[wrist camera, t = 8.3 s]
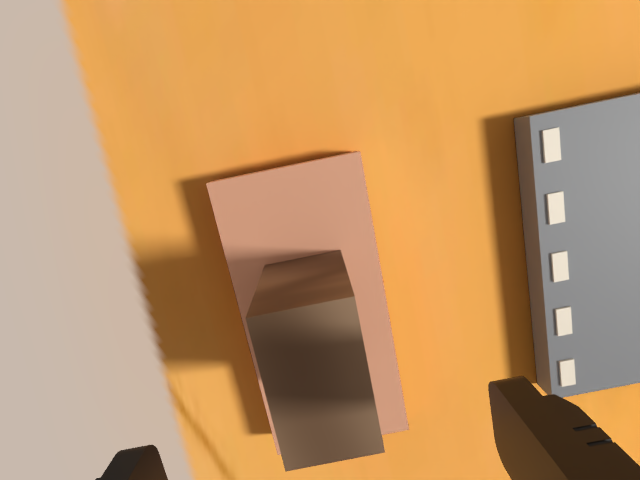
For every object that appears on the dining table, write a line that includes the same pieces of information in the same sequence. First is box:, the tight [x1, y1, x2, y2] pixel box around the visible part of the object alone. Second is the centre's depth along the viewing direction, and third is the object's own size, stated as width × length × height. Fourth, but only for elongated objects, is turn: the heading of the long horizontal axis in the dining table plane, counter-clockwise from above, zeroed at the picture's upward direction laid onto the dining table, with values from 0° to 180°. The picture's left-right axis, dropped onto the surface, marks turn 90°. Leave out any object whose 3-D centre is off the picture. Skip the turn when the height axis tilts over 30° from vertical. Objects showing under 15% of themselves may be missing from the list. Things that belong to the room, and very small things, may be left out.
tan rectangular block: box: [206, 151, 409, 471], centre depth 15 cm, size 6×12×6 cm, turn 11°
